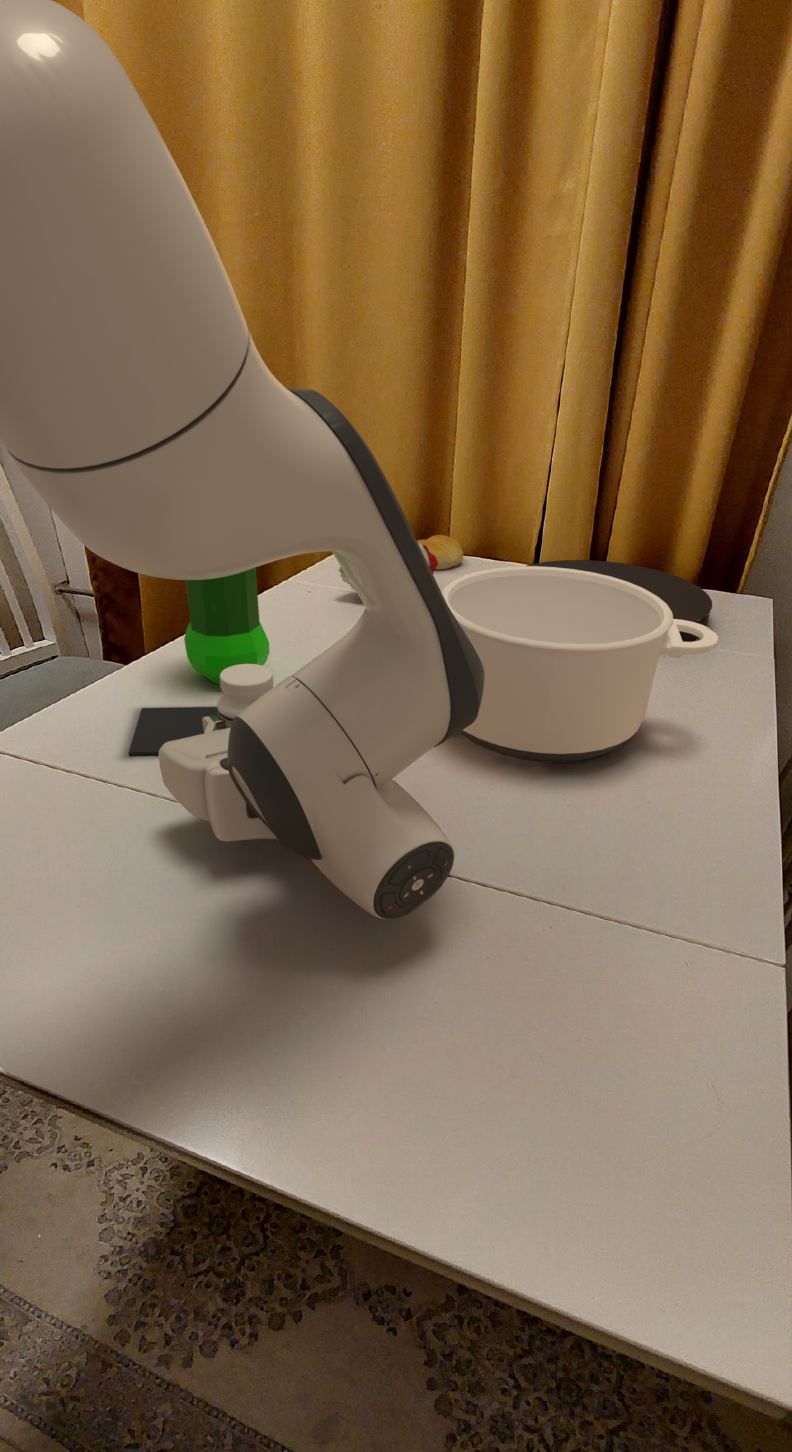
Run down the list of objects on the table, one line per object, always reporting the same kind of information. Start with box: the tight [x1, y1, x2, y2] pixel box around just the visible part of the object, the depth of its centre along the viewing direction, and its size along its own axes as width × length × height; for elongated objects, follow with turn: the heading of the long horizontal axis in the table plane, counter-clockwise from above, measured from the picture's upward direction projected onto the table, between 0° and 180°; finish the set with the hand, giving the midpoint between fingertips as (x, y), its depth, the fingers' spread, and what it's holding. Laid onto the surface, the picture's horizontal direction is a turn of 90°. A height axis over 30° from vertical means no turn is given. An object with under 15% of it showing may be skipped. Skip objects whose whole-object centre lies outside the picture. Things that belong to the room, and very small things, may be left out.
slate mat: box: [128, 706, 218, 757], centre depth 88 cm, size 20×10×1 cm, turn 96°
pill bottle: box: [216, 664, 275, 729], centre depth 77 cm, size 6×6×10 cm
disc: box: [526, 559, 713, 642], centre depth 121 cm, size 30×30×3 cm
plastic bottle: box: [184, 567, 271, 686], centre depth 92 cm, size 10×10×25 cm
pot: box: [441, 565, 719, 763], centre depth 88 cm, size 33×23×14 cm
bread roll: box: [417, 534, 464, 571], centre depth 136 cm, size 8×9×4 cm
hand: (245, 714), depth 78 cm, fingers closed on pill bottle, 6 cm apart
